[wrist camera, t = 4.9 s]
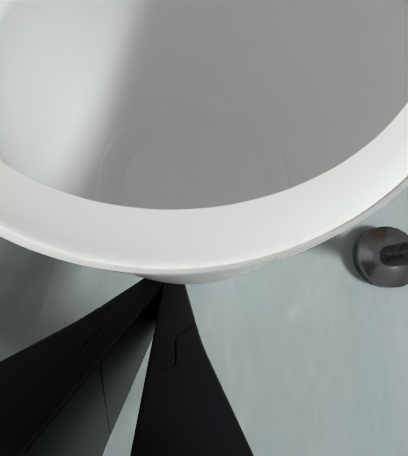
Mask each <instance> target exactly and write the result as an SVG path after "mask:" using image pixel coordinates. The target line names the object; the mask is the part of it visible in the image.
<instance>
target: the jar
mask: <svg viewBox="0 0 408 456" xmlns="http://www.w3.org/2000/svg"><path fill="white" fill-rule="evenodd" d="M407 187H408V0H0V237H2V238H4V239H7V240H9V241H11V242H13V243H15V244H18V245H20V246H22V247H25V248H27V249H30V250H33V251H35V252H38V253H41V254H44V255H47V256H50V257H53V258H56V259H60V260H63V261H67V262H71V263H75V264H79V265H84V266H88V267H94V268H98V269H103V270H109V271H115V272H121V273H128V274H134V275H136V276H140V277H143V278H146V279H150V280H154V281H159V282H165V283H173V284H204V283H212V282H218V281H223V280H227V279H231V278H234V277H237V276H240V275H243V274H246V273H248V272H250V271H253V270H255V269H257V268H259V267H261V266H263V265H265V264H267V263H271V262H274V261H278V260H281V259H284V258H287V257H290V256H293V255H295V254H298V253H300V252H303V251H305V250H307V249H310V248H312V247H314V246H316V245H318V244H320V243H322V242H324V241H326V240H328V239H330V238H332V237H334V236H336V235H338V234H340V233H342V232H344V231H346V230H347V229H349V228H351V227H353V226H355V225H356V224H358V223H360V222H361V221H363V220H364V219H366V218H368V217H369V216H371V215H372V214H374V213H375V212H377V211H378V210H379V209H381V208H382V207H384V206H385V205H386V204H387V203H389V202H390V201H391V200H393V199H394V198H395V197H396V196H397V195H399V194H400V193H401V192H402V191H403V190H404V189H406V188H407Z"/></svg>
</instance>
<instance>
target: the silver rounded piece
mask: <svg viewBox="0 0 408 456" xmlns="http://www.w3.org/2000/svg"><path fill="white" fill-rule="evenodd" d="M353 260H354V264H355V266H356V268H357V270H358V272H359V273H360V275H361V276H362V277H363V278H364V279H365V280H367V281H368V282H370V283H371V284H373V285H376V286H379V287H401V286H405V285H407V284H408V235H407V234H406V233H404V232H403V231H401V230H399V229H396V228H393V227H378V228H375V229H372V230H369V231H367V232H365V233H363V234H362V235H361V236H360V237H359V238H358V239H357V241H356V243H355V245H354V248H353Z"/></svg>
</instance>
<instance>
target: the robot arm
mask: <svg viewBox="0 0 408 456" xmlns="http://www.w3.org/2000/svg"><path fill="white" fill-rule="evenodd" d="M153 335H154V336H153ZM152 338H153V341H152V346H151V351H150V357H149V362H148V367H147V373H146V377H145V382H144V388H143V393H142V398H141V403H140V408H139V414H138V419H137V424H136V429H135V435H134V440H133V445H132V450H131V455H130V456H254V455H253V453H252V451H251V449H250V447H249V445H248V442H247V440H246V438H245V436H244V434H243V432H242V429H241V427H240V425H239V423H238V421H237V419H236V416H235V414H234V412H233V410H232V408H231V406H230V404H229V401H228V399H227V397H226V395H225V393H224V391H223V388H222V386H221V384H220V382H219V380H218V378H217V375H216V373H215V371H214V369H213V367H212V365H211V363H210V360H209V358H208V356H207V354H206V351H205V349H204V346H203V344H202V341H201V338H200V335H199V332H198V328H197V326H196V322H195V318H194V315H193V311H192V308H191V304H190V301H189V297H188V294H187V290H186V286H185V284H173V283H165V282H159V281H154V280H150V279H146V278H144V279H142V280H141V281H139V282H138V283H136V284H135V285H133V286H132V287H130V288H129V289H127V290H125V291H124V292H122V293H121V294H119V295H118V296H116V297H115V298H113V299H112V300H110V301H109V302H107V303H105V304H104V305H102V306H101V307H99V308H97V309H96V310H94V311H93V312H91V313H89V314H88V315H86V316H85V317H83V318H81V319H80V320H78V321H76V322H74V323H72V324H71V325H69V326H67V327H65V328H63V329H61V330H60V331H58V332H56V333H54V334H52V335H50V336H48V337H46V338H44V339H42V340H41V341H39V342H37V343H35V344H33V345H31V346H29V347H27V348H25V349H23V350H21V351H20V352H18V353H16V354H14V355H12V356H10V357H8V358H6V359H4V360H2V361H1V362H0V456H102V455H103V452H104V450H105V447H106V444H107V442H108V440H109V437H110V435H111V433H112V430H113V428H114V426H115V423H116V421H117V419H118V416H119V414H120V412H121V409H122V407H123V405H124V403H125V400H126V398H127V396H128V393H129V391H130V389H131V386H132V384H133V382H134V379H135V377H136V375H137V372H138V370H139V368H140V366H141V363H142V361H143V359H144V356H145V354H146V352H147V349H148V347H149V345H150V342H151V340H152Z"/></svg>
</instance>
